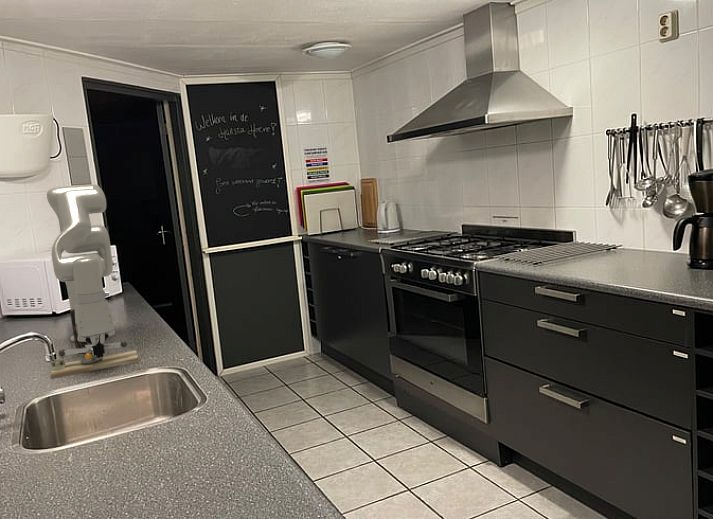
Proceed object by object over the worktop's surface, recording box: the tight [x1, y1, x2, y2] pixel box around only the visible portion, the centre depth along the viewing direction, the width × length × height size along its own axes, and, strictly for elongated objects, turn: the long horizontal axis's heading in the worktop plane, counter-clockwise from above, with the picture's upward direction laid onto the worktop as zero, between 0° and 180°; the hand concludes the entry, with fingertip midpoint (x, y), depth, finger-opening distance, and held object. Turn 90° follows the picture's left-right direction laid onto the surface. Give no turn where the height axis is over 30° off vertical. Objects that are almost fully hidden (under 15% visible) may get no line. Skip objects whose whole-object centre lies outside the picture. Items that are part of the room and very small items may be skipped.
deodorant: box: [69, 309, 88, 355], centre depth 206 cm, size 6×6×15 cm
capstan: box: [58, 338, 128, 364], centre depth 189 cm, size 20×20×5 cm
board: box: [50, 349, 140, 379], centre depth 189 cm, size 11×25×4 cm, turn 114°
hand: (99, 356), depth 184 cm, fingers closed
